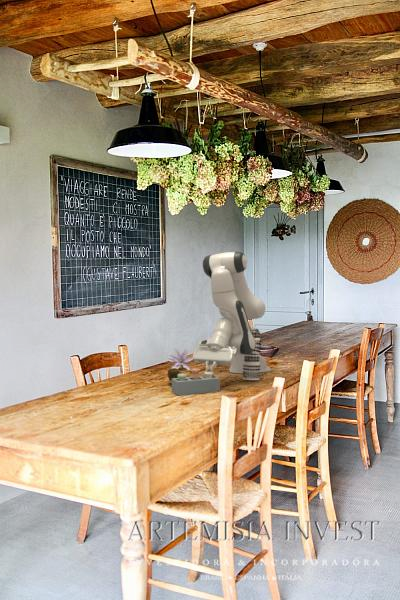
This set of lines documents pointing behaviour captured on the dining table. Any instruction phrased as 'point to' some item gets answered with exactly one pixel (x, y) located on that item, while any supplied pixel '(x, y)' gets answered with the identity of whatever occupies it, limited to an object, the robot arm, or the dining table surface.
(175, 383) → the grey slotted holder
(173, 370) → the potato
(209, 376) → the cream button
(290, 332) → the dining table surface
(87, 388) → the dining table surface
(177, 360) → the water lily
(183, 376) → the sage button
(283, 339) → the dining table surface
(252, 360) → the decorative candle
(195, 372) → the terracotta button
